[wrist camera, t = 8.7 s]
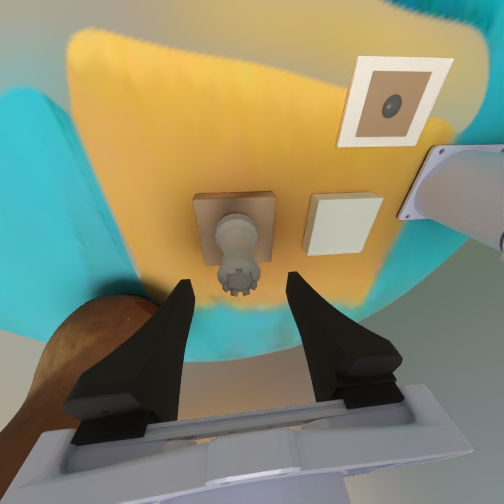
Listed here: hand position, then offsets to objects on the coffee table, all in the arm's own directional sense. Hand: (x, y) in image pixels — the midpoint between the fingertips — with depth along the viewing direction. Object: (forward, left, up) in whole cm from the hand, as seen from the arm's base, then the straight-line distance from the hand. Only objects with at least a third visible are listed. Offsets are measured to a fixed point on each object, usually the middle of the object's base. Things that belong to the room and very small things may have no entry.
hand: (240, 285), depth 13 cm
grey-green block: (-12, 0, -10) cm, 15 cm away
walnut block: (0, 0, -10) cm, 10 cm away
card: (-14, -11, -10) cm, 20 cm away
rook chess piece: (0, 0, -8) cm, 8 cm away
